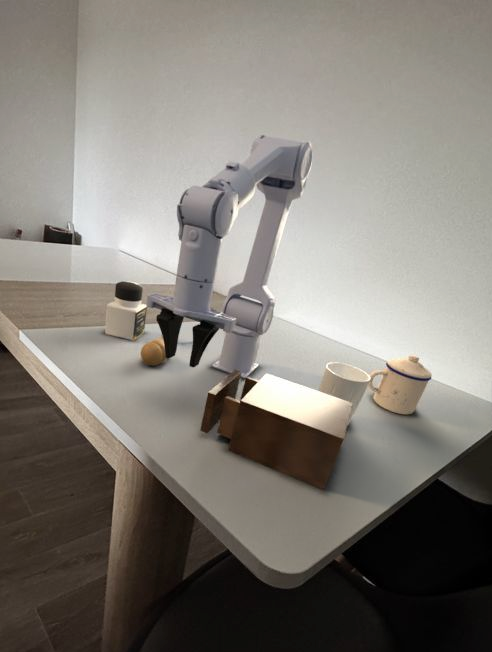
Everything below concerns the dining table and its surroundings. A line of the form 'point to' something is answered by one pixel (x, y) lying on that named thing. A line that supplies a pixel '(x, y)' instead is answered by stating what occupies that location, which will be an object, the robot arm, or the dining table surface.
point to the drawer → (225, 404)
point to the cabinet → (291, 429)
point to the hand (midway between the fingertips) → (182, 360)
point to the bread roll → (153, 352)
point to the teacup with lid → (401, 384)
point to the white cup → (345, 383)
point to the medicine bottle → (126, 312)
